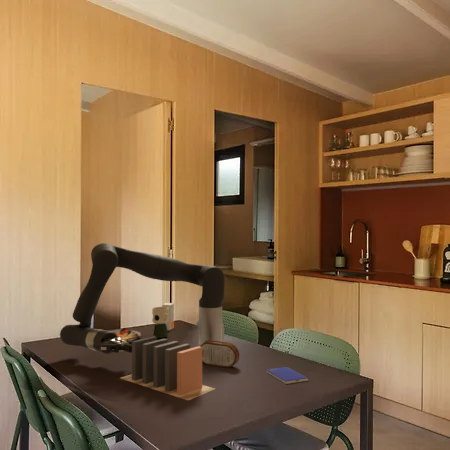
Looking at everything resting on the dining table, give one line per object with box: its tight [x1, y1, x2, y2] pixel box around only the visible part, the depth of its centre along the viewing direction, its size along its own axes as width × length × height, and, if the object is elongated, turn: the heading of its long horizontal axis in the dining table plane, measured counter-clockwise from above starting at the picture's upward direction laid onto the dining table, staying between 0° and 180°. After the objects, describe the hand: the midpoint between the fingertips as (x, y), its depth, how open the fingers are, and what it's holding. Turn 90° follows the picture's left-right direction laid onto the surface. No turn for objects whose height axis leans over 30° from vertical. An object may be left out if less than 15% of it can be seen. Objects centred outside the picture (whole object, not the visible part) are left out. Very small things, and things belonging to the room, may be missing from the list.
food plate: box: [105, 327, 142, 341], centre depth 203 cm, size 25×23×4 cm
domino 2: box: [142, 338, 168, 384], centre depth 148 cm, size 2×9×12 cm, turn 141°
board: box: [120, 373, 216, 401], centre depth 145 cm, size 30×12×1 cm, turn 51°
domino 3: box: [153, 340, 179, 388], centre depth 145 cm, size 2×9×12 cm, turn 141°
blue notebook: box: [266, 366, 309, 385], centre depth 154 cm, size 2×8×12 cm
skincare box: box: [161, 302, 175, 331], centre depth 224 cm, size 6×4×12 cm
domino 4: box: [165, 343, 191, 391], centre depth 141 cm, size 2×9×12 cm, turn 141°
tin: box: [200, 340, 240, 368], centre depth 166 cm, size 15×3×8 cm, turn 65°
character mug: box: [151, 306, 169, 339], centre depth 207 cm, size 11×7×13 cm, turn 39°
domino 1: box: [131, 335, 158, 381], centre depth 151 cm, size 2×9×12 cm, turn 141°
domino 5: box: [177, 345, 203, 395], centre depth 138 cm, size 2×9×12 cm, turn 141°
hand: (133, 349), depth 154 cm, fingers closed
